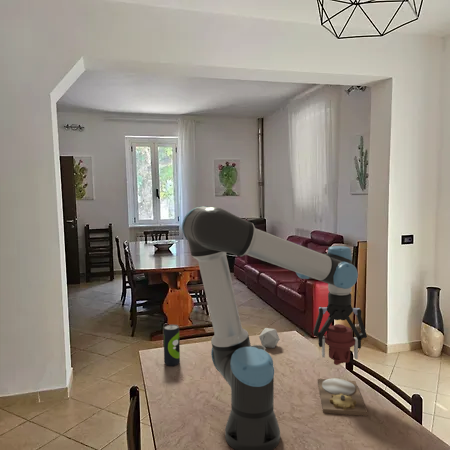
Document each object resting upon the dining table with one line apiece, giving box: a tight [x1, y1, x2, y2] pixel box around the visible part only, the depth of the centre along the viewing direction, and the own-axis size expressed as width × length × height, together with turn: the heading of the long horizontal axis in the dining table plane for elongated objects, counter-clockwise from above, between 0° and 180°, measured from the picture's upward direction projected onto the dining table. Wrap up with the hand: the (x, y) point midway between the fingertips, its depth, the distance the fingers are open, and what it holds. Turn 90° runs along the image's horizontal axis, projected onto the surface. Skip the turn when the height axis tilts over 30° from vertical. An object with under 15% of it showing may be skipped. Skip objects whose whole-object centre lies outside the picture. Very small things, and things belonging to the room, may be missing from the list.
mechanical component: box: [324, 323, 355, 366], centre depth 131 cm, size 12×10×10 cm
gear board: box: [317, 377, 368, 417], centre depth 127 cm, size 20×13×3 cm, turn 171°
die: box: [258, 327, 281, 349], centre depth 171 cm, size 8×9×10 cm
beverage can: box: [163, 324, 181, 367], centre depth 154 cm, size 6×6×15 cm
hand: (339, 356), depth 131 cm, fingers closed on mechanical component, 10 cm apart
